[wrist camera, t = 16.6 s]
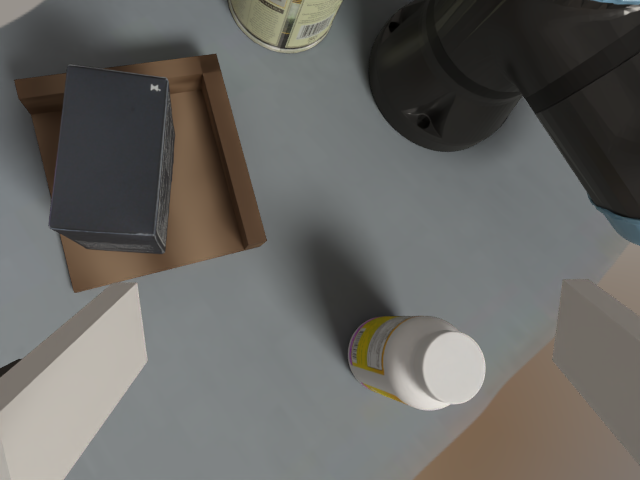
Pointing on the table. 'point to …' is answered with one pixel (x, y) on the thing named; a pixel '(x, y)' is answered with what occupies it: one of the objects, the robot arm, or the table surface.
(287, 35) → the coffee can
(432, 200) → the table surface
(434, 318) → the supplement bottle
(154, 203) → the small box
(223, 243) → the corner tray
